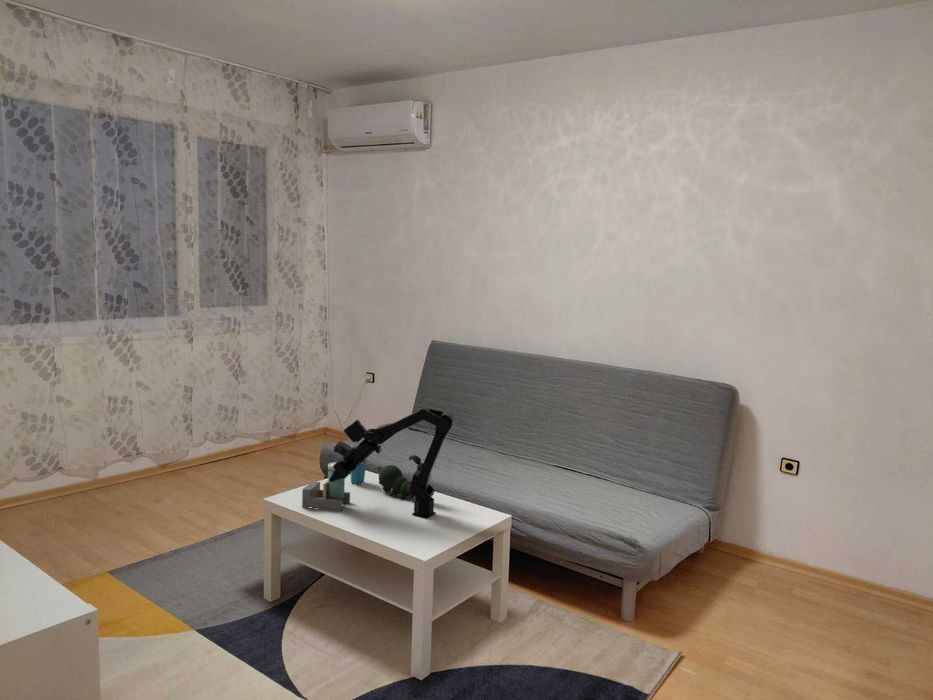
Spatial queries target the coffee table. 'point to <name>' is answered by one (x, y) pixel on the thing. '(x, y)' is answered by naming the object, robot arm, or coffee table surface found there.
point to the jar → (335, 485)
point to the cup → (358, 473)
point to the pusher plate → (325, 490)
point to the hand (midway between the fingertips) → (332, 478)
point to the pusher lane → (321, 498)
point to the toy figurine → (397, 479)
